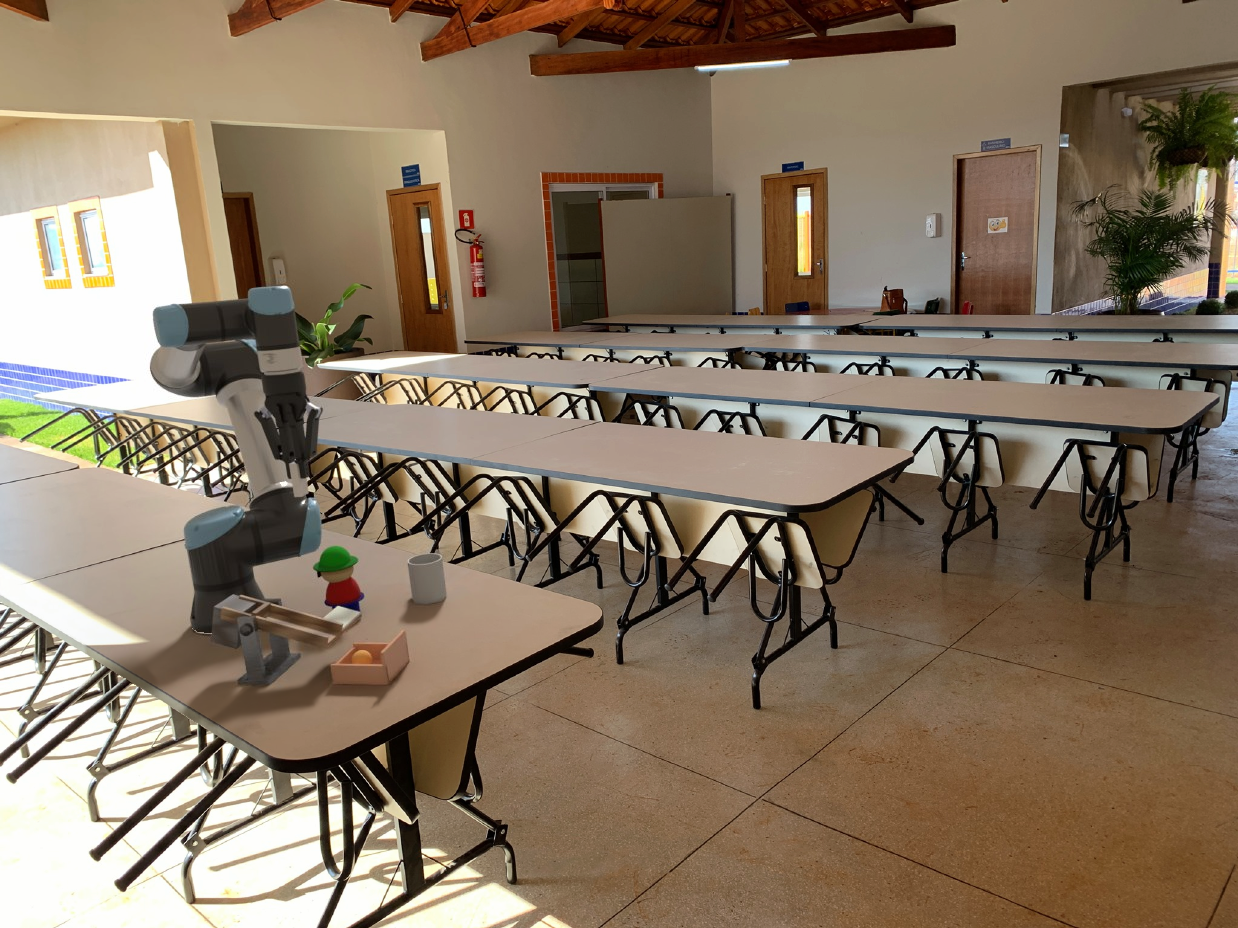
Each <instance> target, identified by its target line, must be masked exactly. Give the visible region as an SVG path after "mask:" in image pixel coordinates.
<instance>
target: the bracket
mask: <svg viewBox="0 0 1238 928" xmlns="http://www.w3.org/2000/svg"><path fill="white" fill-rule="evenodd" d="M263 601H265V602H269V603H272V604H276V605H279V606H283V603H282V598H265V600H263ZM237 622H238V627H239V633H240V638H241V644H242V646H241V650H242V654H243V659H244V665H245V670H246V671H245V673H244V674H242V676H241V677H239V678H238V679H237V680H236V684H237V685H248V686H249V685H250V686H256V685H257V686H258V685H259V686H270V685H271V684H272V683H273V682H275V680H276V679H277V678H279V677H280V676H281V675H282V674H284V673H285V672H286V671H287V670H288V669H289V668H291V666H293V665H294V664H295V663H296V662H297V661H299V660H300V658H302V656H301V652H290V645H289V638H285V637H282V636H278V635H275V634H271V633H268V638H269V644H270V649H271V652H270V653H269V654H268V655H266V656H265V657H264V656H263V655H264V654H263V650H262V644H261V638H260V632H259V631H260V630H258V626H257V620H256V617H239V618H237Z"/></svg>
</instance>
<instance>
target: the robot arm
mask: <svg viewBox="0 0 1238 928" xmlns="http://www.w3.org/2000/svg"><path fill="white" fill-rule="evenodd" d="M292 295H293V294H292V290H291V288H290V287H288V286H287V285H277V286H276V285H275V286H261V287H253V288H250V289H249V290H248V292H247V298H237V299H236V298H235V299H228V300H227V299H226V300H216V301H204V302H203V301H202V302H191V303H172V304H169V305H168V304H167V305H161V306H157V307H155V308H154V309H153V311H152V320H153V321H152V322H153V327H154V333H155V337H156V340H157V343H158V344H159V345H160V346H159V348H157V349H156V350H155V351H154V352H153V353H152V355H151V359H150V362H149V371H150V375H151V377H152V379H153V380H154V381H155V383H156V384H157V385H158V386H159V387H160V388H161V389H163V390H165V391H167V392H168V393H171V394H174V395H177V396H180V397H185V398H203V397H212V396H215V397H216V400H217V403H218V404H219V405H220V406H221V407H224V408H226V409H227V412H228V415H229V418H230V423H231V425H232V428H233V432H234V435H235V439H236V443H237V445H238V448H239V452H240V455H241V458H242V462H243V466H244V469H245V472H246V475H247V479H248V481H249V485H250V488H251V491H252V494H253V497H252V499H251V500H250V501H249V504H248V507H249V510H246V511H245V510H244V509H243V507H242V506H240V505H234V504H233V505H228V506H225V505H224V506H221V507H216V508H213V509H209V510H207V511H205V512H201V513H199V514H197V515H195V516H194V517H192V518H190V519H189V520H188V521H187V522H186V524H185V525H184V527H183V536H184V537H183V538H184V548H185V550H186V553H187V557H188V558H187V559H188V564H189V568H190V570H189V571H190V575H191V581H192V587H193V591H194V592H193V598H192V604H191V611H190V616H189V621H190V627H191V629H192V628H193V629H194V630H196V631H197V632H204V633H212V622H213V611H214V606H216V605H217V604H219V603H221V602H222V601H224V600H225V599H227V598H228V597H230V596H231V595H233V594H234V595H237V596H240V595H244V596H247V597H251V598H254V599H258V600H261V601H263V600H265V599H266V597H265V595H264V594H263V592H262V590H261V588H260V586H259V584H258V583H257V580H256V579H255V574H254V567H258V566H262V565H266V564H271V563H275V562H280V561H285V560H289V559H293V558H300V557H301V556H304V555H308V554H311V553H314V552H317V550H319V548H320V546H321V543H322V537H323V536H322V535H323V534H322V533H323V531H322V529H323V528H322V527H323V526H322V516H321V511H320V510H321V509H320V506H319V503H318V501H317V499H316V498H315V497H308V498H307V496H306V495H308V494H309V492H310V491H309V485H308V479H307V478H309V477H310V468H309V462H308V461H309V459H312V458H313V457H316V456H317V455H318V454H317V452H318V439H319V438H318V437H319V426H320V418H321V415H322V414H323V411H324V408H323V407H322V406H320V405H318V406H316V405H315V404H313V403H311V401H310V398H309V397H308V394H307V383H306V376H305V372H304V371H303V370H301V369H302V368H303V367H304V363H303V359H302V358H303V356H302V350H301V346H300V339H299V332H298V325H297V319H296V310H295V307H296V306H295V302H294V300H293V296H292ZM305 414H306V416H307V419H306V427H304V424H305V417H304V416H305ZM274 419H275V421H274Z"/></svg>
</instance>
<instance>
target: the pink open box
mask: <svg viewBox="0 0 1238 928" xmlns="http://www.w3.org/2000/svg"><path fill="white" fill-rule="evenodd" d="M407 640H408V638H407V633H406V629H402V630H401V631H400V632H399V633H398V634H397V635H396V636H395V637H394V638H393V639H392V640H391V641H389V642H370V641H369V642H366V641H365V642H359V641H358V642H355V641H354V642H353V643H352V647H351V648H350V649H349V650H348V651H347V652H346V653H345V654H344V655H343V656H341V658H339V659H338V660H337V661H336V662H335V663H331V664H330V672H331V678H332V683H333V684H334V685H377V686H380V685H381V686H384V685H385V686H389V685H390V684H391V682H392V681H393V680H394V679H395V678H396V677H397V676H398V674H400V672H401V671H402V670H403V669H404V668H405V667H406V665H407V664H409V662H410V655H409V647H408V646H409V645H408V641H407ZM360 650H365V651H368V652H369V653H370V654H371V656H372V663H371V664H352V657H353V655H354V654H355V653H356V652H357V651H360Z"/></svg>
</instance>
